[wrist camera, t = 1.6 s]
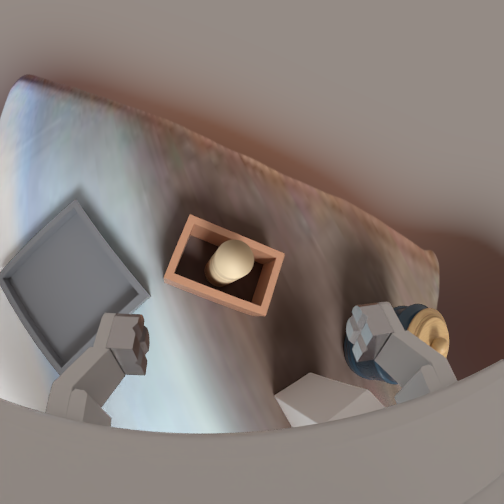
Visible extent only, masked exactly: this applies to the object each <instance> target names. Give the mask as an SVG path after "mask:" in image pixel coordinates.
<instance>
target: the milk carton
mask: <svg viewBox="0 0 504 504" xmlns="http://www.w3.org/2000/svg"><path fill="white" fill-rule="evenodd" d="M274 396H275V398H276V400H277V402H278V403H279V405H280V407H281V409H282V410H283V412H284V414H285V416H286V417H287V419H288V421H289V423H290V424H291V426H292V427H299V426H306V425H312V424H318V423H323V422H329V421H334V420H339V419H343V418H348V417H352V416H356V415H360V414H364V413H368V412H372V411H376V410H379V409H383V408H385V407H384V406H383V405H382V404H381V403H380V402H379V400H378V399H377V398H376V397H375V396H374V395H373V394H372V393H371V392H370V391H369V390H367V389H363V388H360V387H356V386H353V385H349V384H346V383H343V382H339V381H336V380H333V379H330V378H326V377H323V376H320V375H317V374H314V373H311V372H310V373H308V374H307V375H305V376H304V377H302V378H301V379H299V380H298V381H296V382H294V383H293V384H291V385H290V386H288V387H287V388H285V389H283V390H282V391H280V392H279V393H277V394H275V395H274Z"/></svg>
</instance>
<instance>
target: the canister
mask: <svg viewBox="0 0 504 504" xmlns="http://www.w3.org/2000/svg"><path fill="white" fill-rule="evenodd" d="M393 309H394V311H395V313H396V315H397V317H398V319H399V321H400V322H401V324H402V326H403V328H404V330H405V331H406V330H408V331H409V332H411V333H412V334H413V335H415V336H416V337H418V338H419V339H420V340H422V341H423V342H425V343H426V344H427V345H429V346H430V347H432V348H433V349H434V350H436V351H437V352H438V353H440V354H441V355H443V356H444V357H445V358H446V356H447V353H448V348H449V334H448V330H447V326H446V323H445V321H444V318H443V317H442V315H441V314H440V313H439V312H438V311H437V310H435V309H432V308H428V307H427V306H425V305H422V304H413V305H410V306H398V307H395V308H393ZM353 345H354V344H353V343H351V342H350V341H349V340H348V337H347V333H346V336H345V341H344V354H345V359H346V362H347V364H348V366H349V367H350V369H351V370H352V371H353V372H354V373H356V374H357V375H359V376H360V377H362V378H365V379H370V380H379V381H384V382H387V383H389V384H398V383H397V382H396V381H395V380H394V379H393V378H392V377H391V376H390V375H389V374H388V373H387V372H386V371H385V370H384V369H383V368H382V367H381V366H380V365H379V364H378V363H376V362H375V361H374V360H375V359H374V360H368V361H362V362H357V361H356V358H355V356H354V353H353V350H352V348H353Z"/></svg>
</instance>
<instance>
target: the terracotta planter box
mask: <svg viewBox="0 0 504 504" xmlns="http://www.w3.org/2000/svg"><path fill="white" fill-rule="evenodd" d="M190 235H192V236H194V237H196V238H199V239H201V240H204V241H206V242H209V243H211V244H214V245H216V246H218V247H220V245H221V244H222V243H224V242H226V241H228V240H233V239H236V240H240V241H243V242H244V243H246V244H247V245H248V246H249V247H250V248H251V250H252V252H253V255H254V261H255V262H258V263H260V264H263V268H262V271H261V274H260V277H259V280H258V283H257V286H256V289H255V292H254V295H253V298H252V302H251V303H250V302H247V301H245V300H242V299H239V298H237V297H234V296H231V295H229V294H226V293H223V292H221V291H218V290H215V289H213V288H210V287H208V286H205V285H202V284H200V283H197V282H195V281H192V280H190V279H187V278H185V277H182V276H180V275H177V274H175V273H176V270H177V267H178V265H179V262H180V260H181V257H182V255H183V252H184V250H185V247H186V245H187V243H188V240H189V238H190ZM284 255H285V254H284V253H282V252H279V251H277V250H275V249H272V248H270V247H268V246H265V245H263V244H260V243H258V242H256V241H253V240H251V239H248V238H246V237H244V236H241V235H239V234H236V233H234V232H232V231H229V230H227V229H224V228H222V227H220V226H217V225H215V224H212V223H210V222H208V221H205V220H203V219H200V218H198V217H195V216H193V215H191V214H190V215H189V217H188V220H187V222H186V224H185V227H184V229H183V231H182V234H181V236H180V238H179V241H178V243H177V246H176V248H175V250H174V253H173V255H172V258H171V260H170V263H169V265H168V268H167V270H166V273H165V275H164V283H167V284H169V285H172V286H174V287H177V288H179V289H182V290H184V291H187V292H189V293H192V294H195V295H197V296H200V297H202V298H205V299H208V300H210V301H213V302H216V303H218V304H221V305H224V306H226V307H229V308H232V309H235V310H237V311H240V312H243V313H246V314H249V315H251V316H266V313H267V310H268V307H269V304H270V301H271V298H272V294H273V291H274V288H275V285H276V281H277V278H278V275H279V272H280V268H281V265H282V262H283V258H284Z"/></svg>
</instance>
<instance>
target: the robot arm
mask: <svg viewBox="0 0 504 504" xmlns="http://www.w3.org/2000/svg"><path fill="white" fill-rule="evenodd" d="M352 313H353V316H351V317H350V318H349V319H348V322H347V324H346V333H347V337H348V340H349V341H350V342H351V343H353V344H354V345H353V348H352V350H353V353H354V356H355V358H356V361H357V362H362V361H368V360H374V359H375V360H374V361H375V362H376V363H378V364H379V365H380V366H381V367H382V368H383V369H384V370H385V371H386V372H387V373H388V374H389V375H390V376H391V377H392V378H393V379H394V380H395V381H396V382H397V383H398V384H399V385H400V386H401V387H402V389H401V390H400V391H399V392H398V393H397V394H396V396H395V400H396V403H397V404H396V405H393V406H390V407H386V408H383V409H379V410H376V411H372V412H368V413H364V414H360V415H356V416H352V417H348V418H343V419H339V420H334V421H329V422H323V423H318V424H312V425H306V426H299V427H292V428H285V429H276V430H267V431H256V432H241V433H215V434H192V433H166V432H151V431H140V430H131V429H123V428H116V427H111V418H110V416H109V415H108V414H107V413H106V412H105V411H104V410H103V409H102V408H101V407H102V406H103V405H104V403H105V402H106V401H107V399H108V398H109V397H110V395H111V394H112V393H113V391H114V390H115V389H116V387H117V386H118V385H119V383H120V382H121V381H122V379H123V378H124V377H125V375H145V374H146V367H147V359H146V357H145V354H146V353H147V352H148V351H149V333H148V329H147V328H146V327H145V326H144V318H143V315H140V314H121V313H104V315H103V316H102V319H101V322H100V325H99V328H98V332H97V335H96V339H95V342H94V346H93V347H89V348H88V349H87V350H86V351H85V352H84V353H83V354H82V355H81V356H80V357H79V358H78V359H77V360H76V361H75V362H74V363H73V364H72V365H71V366H70V367H69V368H68V369H67V370H66V371H65V372H64V373H63V374H62V375H61V376H59V377H58V378H57V379H56V380H55V381H54V382H53V384H52V387H51V391H50V395H49V399H48V403H47V407H46V412H45V413H44V412H40V411H37V410H34V409H30V408H27V407H24V406H21V405H18V404H15V403H12V402H9V401H6V400H4V399H1V398H0V504H504V359H503V360H500V361H498V362H497V363H495V364H493V365H491V366H489V367H487V368H485V369H483V370H481V371H479V372H477V373H475V374H473V375H471V376H469V377H467V378H464V379H462V380H460V381H457V379H456V377H455V375H454V373H453V371H452V369H451V367H450V365H449V363H448V361H447V359H446V358H445V357H444V356H443V355H441V354H440V353H438V352H437V351H436V350H434V349H433V348H432V347H430V346H429V345H427V344H426V343H425V342H423V341H422V340H420V339H419V338H418V337H416V336H415V335H413V334H412V333H411V332H409V331H408V330H406V331H405V330H404V328H403V326H402V324H401V322H400V321H399V319H398V317H397V315H396V313H395V311H394V309H393V308H392V306H391V304H390V303H389V302H380V303H370V304H362V305H356V306H355V307H354V308H353V310H352Z"/></svg>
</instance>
